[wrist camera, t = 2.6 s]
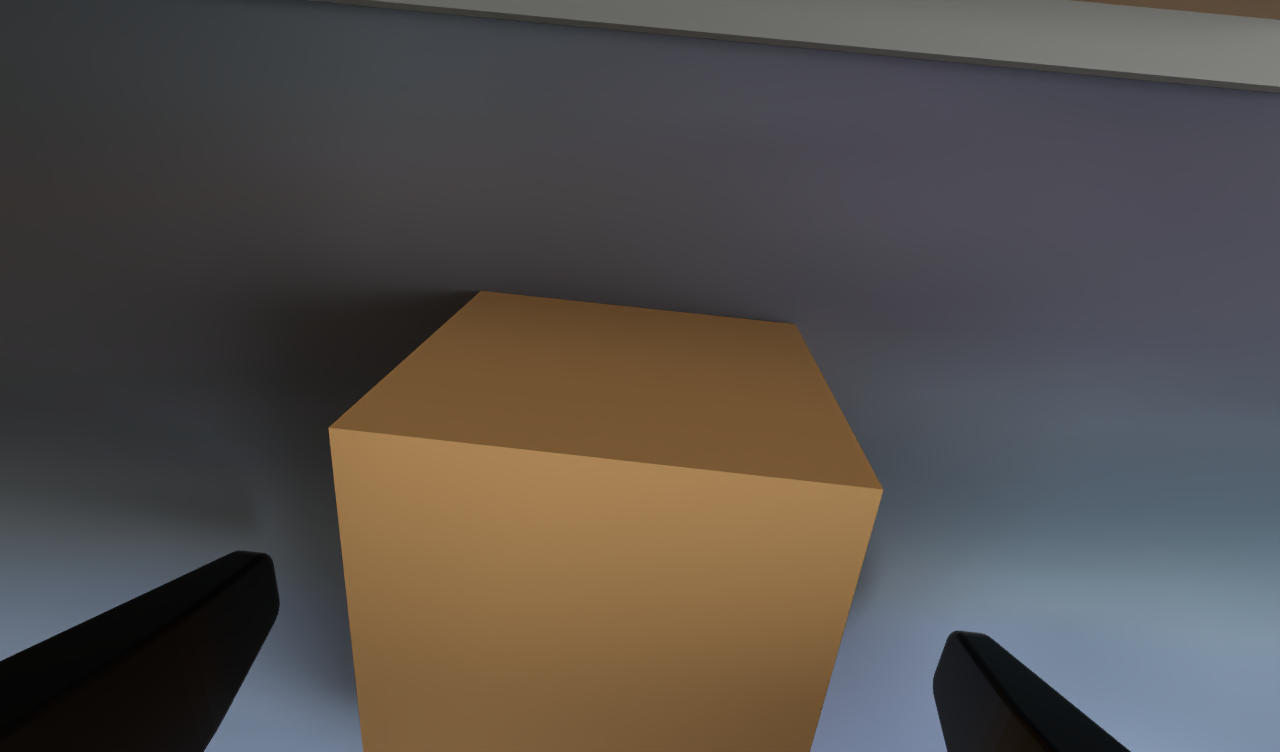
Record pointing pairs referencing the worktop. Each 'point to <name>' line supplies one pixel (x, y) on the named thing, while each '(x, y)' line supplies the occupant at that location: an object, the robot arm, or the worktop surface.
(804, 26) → the board
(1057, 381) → the worktop surface
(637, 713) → the ochre bar
